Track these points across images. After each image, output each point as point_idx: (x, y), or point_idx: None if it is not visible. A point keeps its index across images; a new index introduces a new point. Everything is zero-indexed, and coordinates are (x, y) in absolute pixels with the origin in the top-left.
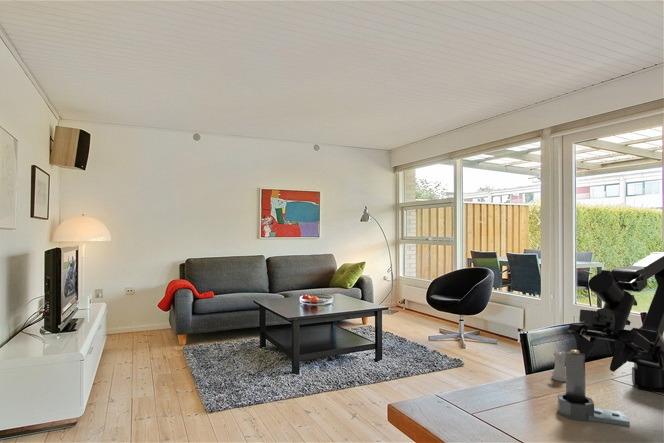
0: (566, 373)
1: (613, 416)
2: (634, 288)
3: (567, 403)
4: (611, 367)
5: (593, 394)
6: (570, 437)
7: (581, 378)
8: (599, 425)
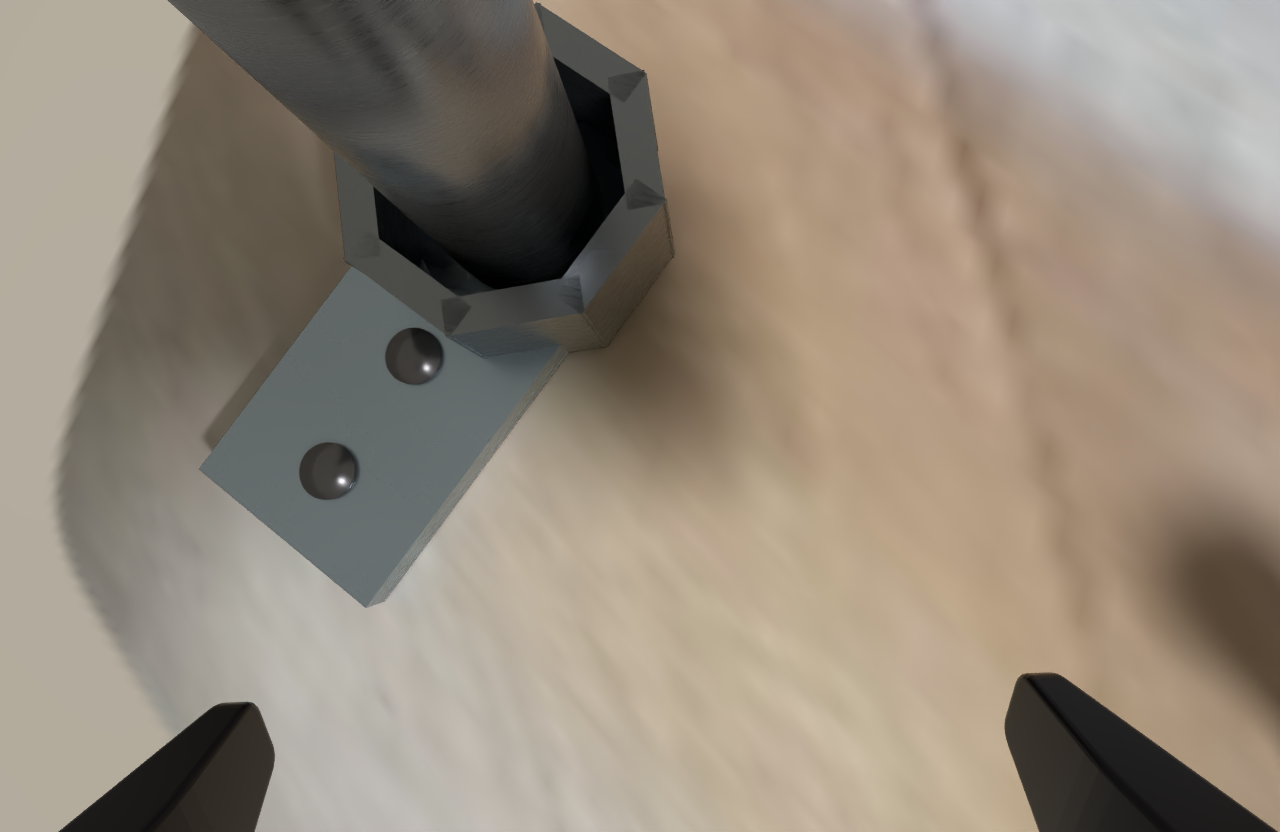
0: None
1: (317, 427)
2: None
3: None
4: (186, 732)
5: (895, 808)
6: None
7: None
8: (312, 248)
